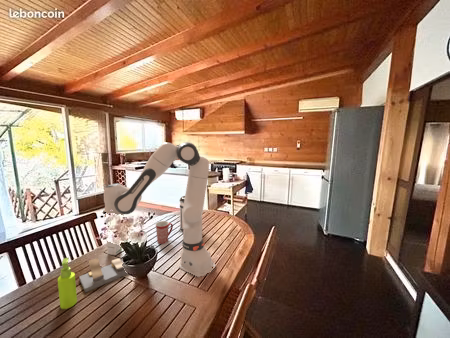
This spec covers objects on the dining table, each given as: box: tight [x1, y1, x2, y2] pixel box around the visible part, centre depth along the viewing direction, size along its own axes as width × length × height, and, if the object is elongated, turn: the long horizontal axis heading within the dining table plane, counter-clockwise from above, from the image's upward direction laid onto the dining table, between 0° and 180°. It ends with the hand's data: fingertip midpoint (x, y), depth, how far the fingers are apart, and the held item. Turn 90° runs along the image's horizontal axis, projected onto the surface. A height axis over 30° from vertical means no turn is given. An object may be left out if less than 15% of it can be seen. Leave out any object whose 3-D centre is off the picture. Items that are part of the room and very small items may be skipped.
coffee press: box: [178, 195, 185, 232], centre depth 165 cm, size 17×16×30 cm
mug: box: [155, 220, 174, 244], centre depth 145 cm, size 13×9×14 cm
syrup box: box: [106, 240, 123, 256], centre depth 128 cm, size 6×6×14 cm
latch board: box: [79, 259, 128, 293], centre depth 107 cm, size 12×23×3 cm, turn 136°
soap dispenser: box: [57, 257, 78, 310], centre depth 88 cm, size 6×7×20 cm
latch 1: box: [88, 257, 104, 282], centre depth 102 cm, size 11×4×1 cm
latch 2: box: [110, 257, 124, 272], centre depth 111 cm, size 11×4×1 cm, turn 46°
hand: (115, 237), depth 111 cm, fingers closed
